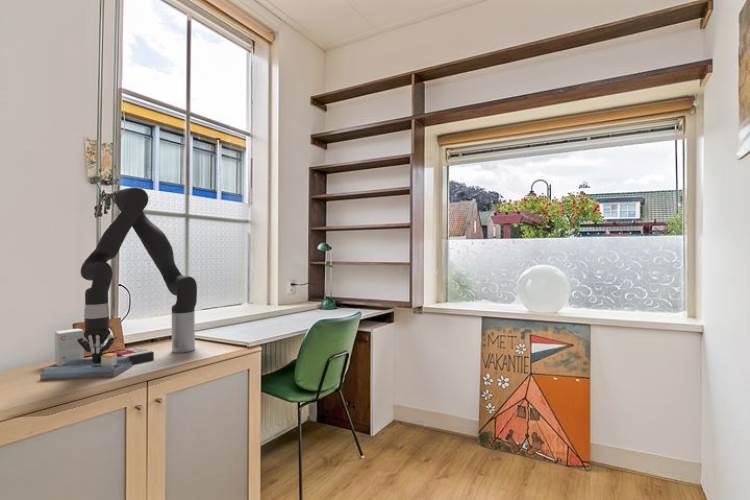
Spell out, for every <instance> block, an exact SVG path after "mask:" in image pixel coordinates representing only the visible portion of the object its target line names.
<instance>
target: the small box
mask: <svg viewBox="0 0 750 500" xmlns="http://www.w3.org/2000/svg"><path fill="white" fill-rule="evenodd" d="M83 336H84V330H83V329H81V328H72V329H64V330H58V331H57V330H56V331H54V355H55V356H54V358H55V360H54V362H55V365H56V366H57V367H58V366H60V365H63V364H65V360H66V359H72V358H85V356H84V355H85V354H84V352H85V349H84V348H83V347H82V346H81V345H80V344H79V343H78V341H77V339H79V338H81V337H83Z"/></svg>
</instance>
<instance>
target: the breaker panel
mask: <svg viewBox="0 0 750 500" xmlns="http://www.w3.org/2000/svg"><path fill="white" fill-rule="evenodd" d="M132 367H133V365H132V361H129V357H117V364H116V365H115V366H114V365H101V362H100V363H97V364H94V362H93V361H92V357H84V358H72V359H66V360H65V364H63V365H60V366H58V365H57V366H47V367H45V368H43V372H42V373H40V375H39V377H40V378H39V379H40V381H48V380H51V381H52V380H72V379H74V380H75V379H76V380H77V379H80V380H81V379H100V378H101V379H102V378H116V377H117V376H118V375H120V374H122V373H124V372H125V371H127V370H129V369H130V368H132Z"/></svg>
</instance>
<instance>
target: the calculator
mask: <svg viewBox="0 0 750 500" xmlns="http://www.w3.org/2000/svg"><path fill="white" fill-rule="evenodd" d="M111 353H117V357H129V361H132V366H133V365H137V364H142V363H147V362H151V361H154V360H155V356H154V355H155V353H154V351H152V350H148V349H146V348H143V347H140V346H139V347H137V346H136V347H131V348H125V349H121V350H115V351H112V352H111Z"/></svg>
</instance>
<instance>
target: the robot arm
mask: <svg viewBox="0 0 750 500" xmlns="http://www.w3.org/2000/svg"><path fill="white" fill-rule="evenodd" d="M114 202H115V203H114V204H115V205H116V207H117V208H118V210H119V211H120V212H119V214H118V215H117V217H116V218H115V219H114V220H113V222H112V223H111V224H110V225H109V226H108V227H107V229H105V231H104V232H103V234H102V235H101V237H100V239H99V241H98V243H97V245H96V247H95V249H94V250H93V251H92V252H91V253H90V254H89V256H88V257H87V258H86V259H85V260H84V261H83V263H82V265H81V267H80V276H81V278H83V279H84V280H86V281H89V282H90V281H91V286H90V287H88V288H87V289H86V290H85V292H84V313H83V317H84V321H83V323H84V326H83V327H84V331H83V337H81V338H79V339H77V341H78V343H79V344H80V345H81V346H82V347H83V348H84V352H87V353H91V358H92V361H93V362H94V364H97V363H100V362H101V356H103V355H104V352H105V351H107V350H109V349H110V347H111V346H112V345H113V344H114V343H115V342H116V340H117V336H113V335H112V334H111V331H110V306H109V290H110V287H111V283H112V279H113V274H114V272H113V268H112V266H111V264H109V263H108V261H110V260H112V259H115V258H116V257H117V255H118V254H119V252H120V251H119V250H120V249H121V247H122V244H123V243H124V241H125V239H126V237H127V235H128V233H129V232H130V230H131V229H132V228H133V231H134V232H135V233H136V234H135V235H137V237H138V238H139V240H140V242H141V244H142V245H143V247H144V249H145V250H146V252H147V254H148V255H149V257H150V258H151V260H152V261H153V263H154V266H156V268H157V270H158V271H159V272H160V275H161V276H162V278H163V281H164V283H165V285H166V288H167V289H168V291H169V292H170V294H171V295H173V296H176V302H175V304H173V305H172V306H171V352H172V353H175V354H177V353H179V354H181V353H188V352H193V351H194V350H195V349H196V346H195V345H196V344H195V343H196V341H195V339H196V334H195V333H196V332H195V331H196V330H195V327H196V325H195V323H196V321H195V317H196V315H195V311H196V310H195V309H196V305H197V301H198V300H197V298H198V296H197V295H198V284H197V280H196V279H195V278H194V277H192V276H190V275H183V274H182V273H181V271H180V270H179V268H178V267H177V264H176V262H175V256H174V249H173V246H172V244H171V242H170V241H169V239H168V237H167V235H166V234H165V233H164V232H163V231H162V230H161V229H160V228H159V227H158V226H157V225H156V224H155V223H153V222H152V221H151V220H150V219H149V218H148V216H146V214H145V211H144V210H145V209H146V207H147V205H148V203H149V194H148V193H147V192H146V190H145V189H143V188H142V187H137V186H132V187H127V188H123V189H119V190H118V191H117V192H116V193H115V195H114Z"/></svg>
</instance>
